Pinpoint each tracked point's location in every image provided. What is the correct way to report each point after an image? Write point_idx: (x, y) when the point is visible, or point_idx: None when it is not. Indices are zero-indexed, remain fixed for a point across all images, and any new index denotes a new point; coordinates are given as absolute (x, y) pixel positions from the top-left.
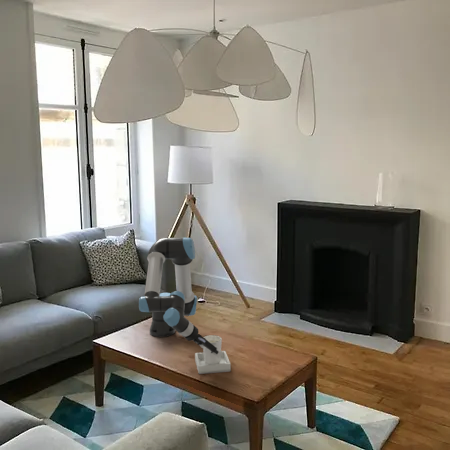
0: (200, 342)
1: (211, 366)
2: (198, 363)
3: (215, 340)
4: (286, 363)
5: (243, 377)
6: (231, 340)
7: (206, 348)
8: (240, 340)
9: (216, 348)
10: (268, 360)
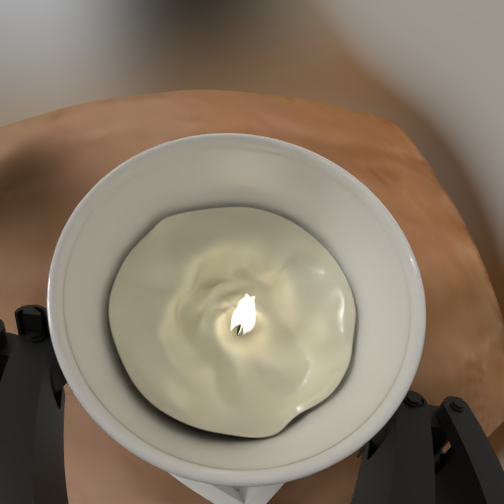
0: (57, 364)
1: None
2: (203, 490)
3: (197, 195)
4: (404, 165)
5: (432, 337)
6: (133, 116)
7: (252, 447)
8: (164, 104)
9: (462, 409)
10: (362, 166)
